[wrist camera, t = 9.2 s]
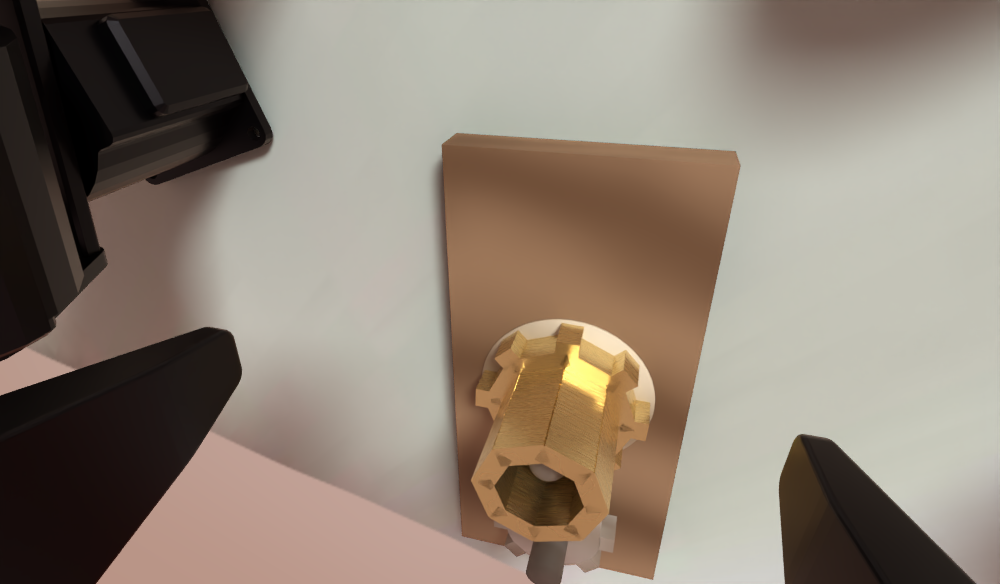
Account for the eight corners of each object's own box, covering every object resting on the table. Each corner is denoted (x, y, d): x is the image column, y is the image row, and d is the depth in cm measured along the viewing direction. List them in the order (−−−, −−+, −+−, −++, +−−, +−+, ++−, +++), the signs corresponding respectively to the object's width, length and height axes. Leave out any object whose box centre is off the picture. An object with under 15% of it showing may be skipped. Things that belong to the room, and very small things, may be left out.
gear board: (653, 550, 27) (650, 677, 22) (471, 511, 29) (431, 619, 24) (735, 151, 18) (759, 220, 13) (456, 133, 19) (386, 187, 15)
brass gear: (515, 459, 24) (483, 563, 20) (464, 339, 22) (414, 428, 17) (663, 448, 22) (661, 563, 18) (624, 312, 19) (611, 408, 15)
